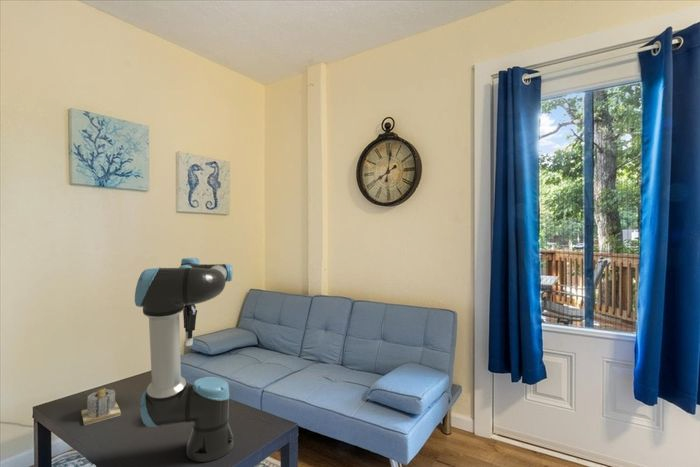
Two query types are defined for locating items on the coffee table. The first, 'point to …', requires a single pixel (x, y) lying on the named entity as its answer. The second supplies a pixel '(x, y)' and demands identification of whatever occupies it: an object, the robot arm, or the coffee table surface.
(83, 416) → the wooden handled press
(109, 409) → the studded hollow tube
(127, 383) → the coffee table surface
